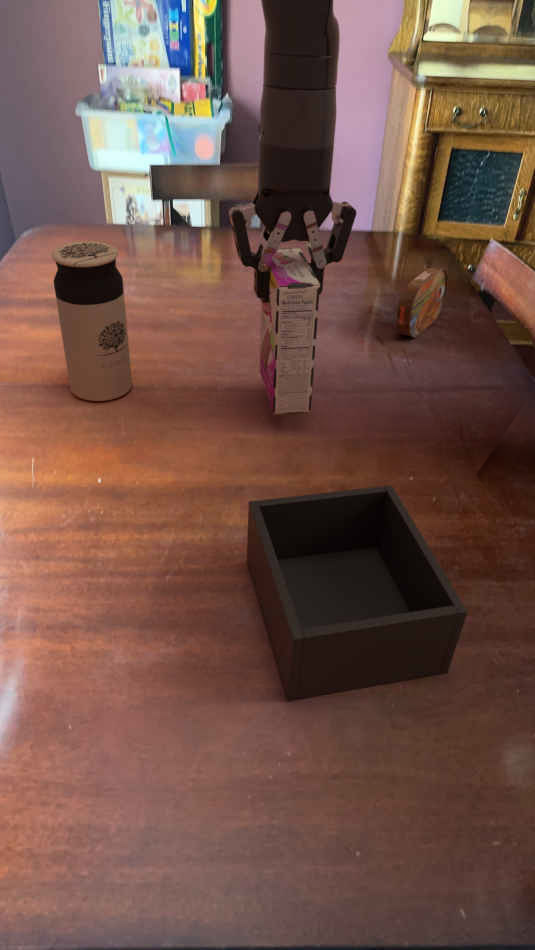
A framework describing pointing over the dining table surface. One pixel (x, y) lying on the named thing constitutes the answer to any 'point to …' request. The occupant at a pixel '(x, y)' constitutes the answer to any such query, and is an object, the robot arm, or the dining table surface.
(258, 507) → the basket
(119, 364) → the travel mug
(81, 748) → the dining table surface
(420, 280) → the tin
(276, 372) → the candy bar box
